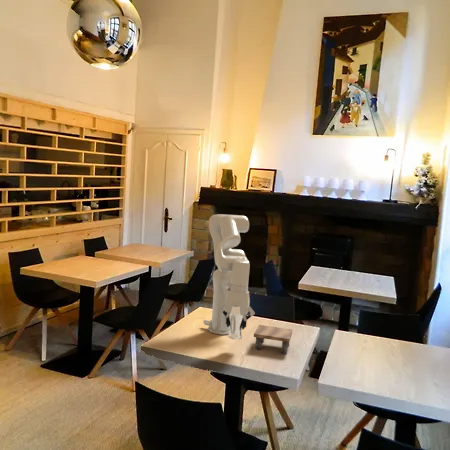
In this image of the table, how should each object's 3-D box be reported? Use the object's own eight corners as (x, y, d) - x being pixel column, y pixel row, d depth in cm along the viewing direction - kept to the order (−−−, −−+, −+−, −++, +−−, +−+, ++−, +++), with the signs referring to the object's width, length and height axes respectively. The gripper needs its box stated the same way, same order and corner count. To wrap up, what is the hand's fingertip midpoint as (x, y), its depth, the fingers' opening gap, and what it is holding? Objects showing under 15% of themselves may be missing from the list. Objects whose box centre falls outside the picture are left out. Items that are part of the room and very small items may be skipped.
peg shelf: (252, 349, 198) (253, 333, 198) (257, 339, 212) (259, 324, 211) (288, 355, 194) (289, 339, 194) (291, 344, 208) (292, 329, 207)
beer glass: (234, 341, 190) (237, 307, 188) (223, 336, 195) (226, 303, 193) (246, 338, 194) (248, 305, 192) (235, 332, 200) (238, 301, 198)
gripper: (217, 287, 190) (214, 326, 192) (257, 292, 186) (253, 333, 188) (222, 283, 197) (219, 321, 200) (260, 288, 193) (256, 327, 196)
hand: (235, 326), depth 194 cm, fingers closed on beer glass, 6 cm apart
